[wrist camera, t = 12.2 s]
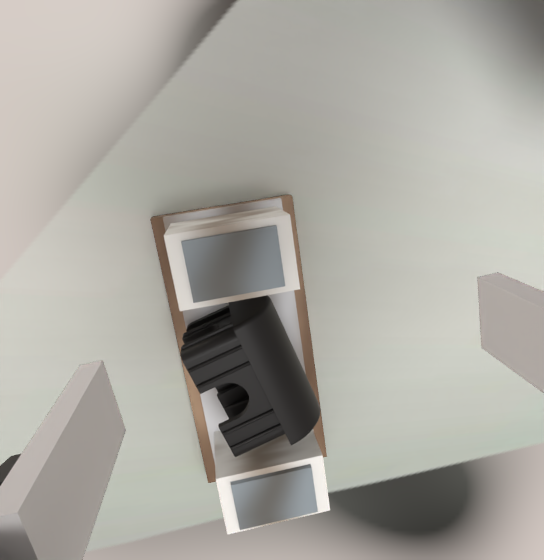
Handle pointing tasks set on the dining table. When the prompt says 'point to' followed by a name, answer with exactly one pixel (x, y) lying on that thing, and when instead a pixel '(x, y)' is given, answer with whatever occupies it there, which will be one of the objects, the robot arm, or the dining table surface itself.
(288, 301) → the rail board
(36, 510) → the robot arm
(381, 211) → the dining table surface
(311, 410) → the end cap
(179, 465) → the dining table surface
